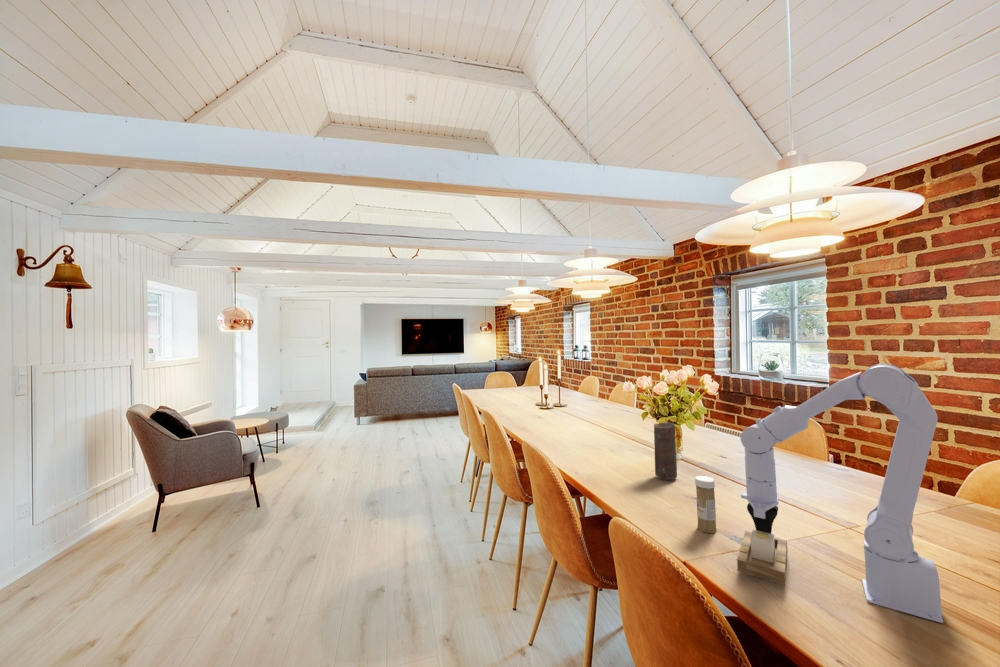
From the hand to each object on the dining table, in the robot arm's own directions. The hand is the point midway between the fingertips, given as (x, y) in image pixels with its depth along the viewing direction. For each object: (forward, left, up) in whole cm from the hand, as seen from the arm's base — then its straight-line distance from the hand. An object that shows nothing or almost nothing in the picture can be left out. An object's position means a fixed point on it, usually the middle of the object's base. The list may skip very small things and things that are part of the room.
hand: (764, 538), depth 86 cm
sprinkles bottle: (+13, -7, -5) cm, 15 cm away
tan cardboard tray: (0, +4, -4) cm, 6 cm away
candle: (+32, -40, -5) cm, 51 cm away
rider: (0, +4, -2) cm, 4 cm away
